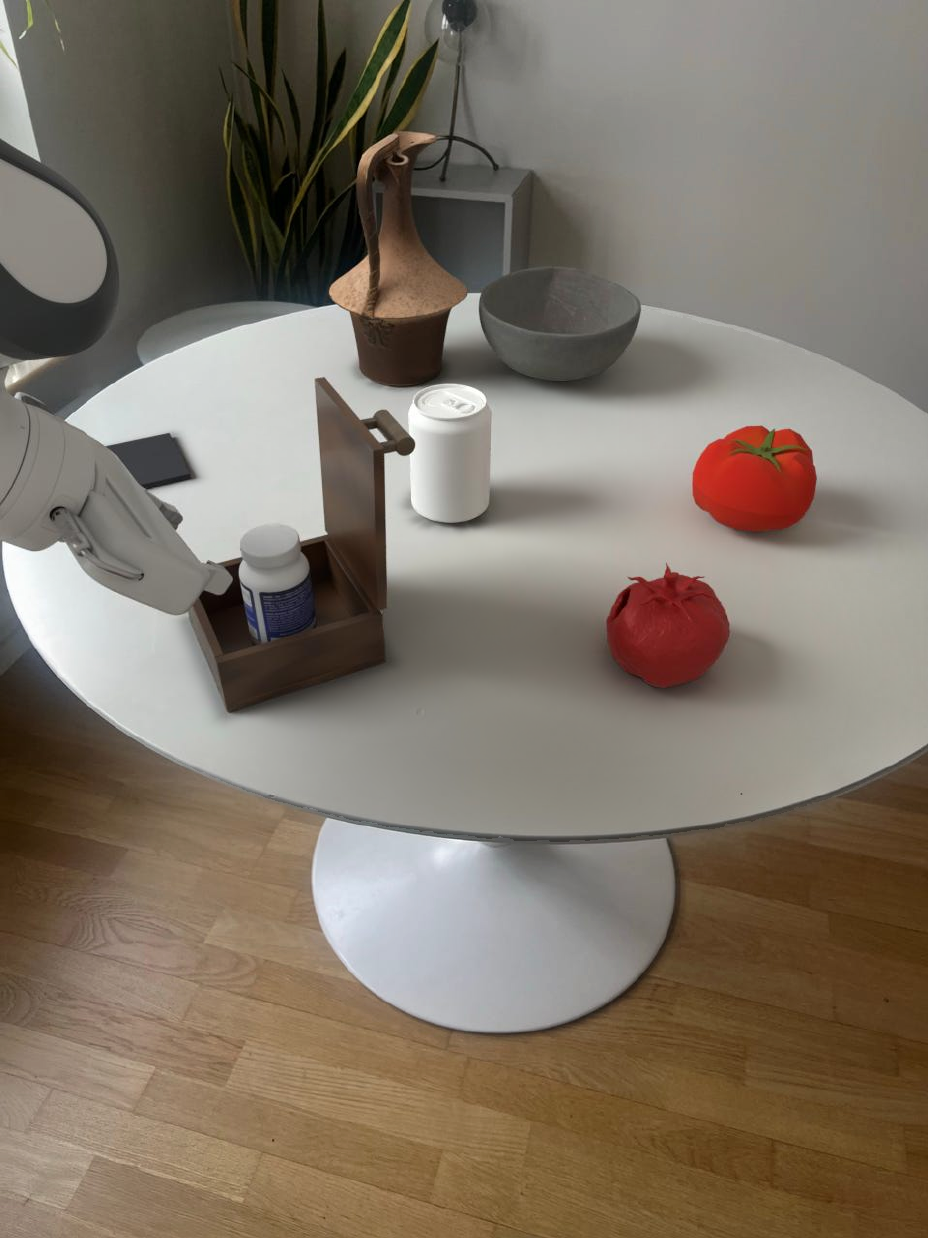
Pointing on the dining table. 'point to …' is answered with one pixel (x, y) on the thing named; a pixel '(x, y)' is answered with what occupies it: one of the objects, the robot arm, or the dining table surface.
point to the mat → (152, 460)
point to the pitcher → (396, 274)
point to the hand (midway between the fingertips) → (199, 550)
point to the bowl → (558, 322)
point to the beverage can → (450, 452)
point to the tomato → (756, 479)
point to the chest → (299, 659)
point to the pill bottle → (275, 583)
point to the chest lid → (357, 484)
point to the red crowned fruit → (667, 629)
